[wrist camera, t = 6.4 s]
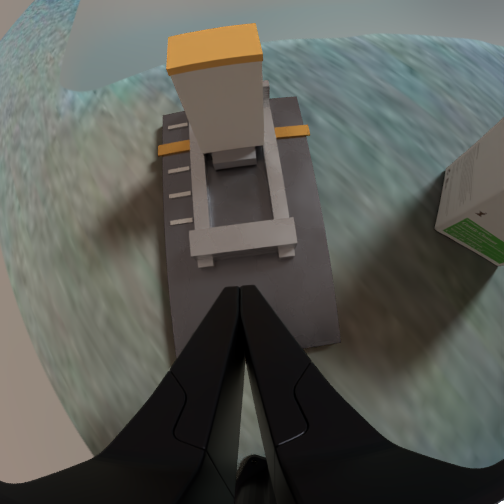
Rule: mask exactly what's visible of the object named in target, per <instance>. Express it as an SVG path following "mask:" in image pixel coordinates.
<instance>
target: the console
mask: <svg viewBox="0 0 504 504" xmlns="http://www.w3.org/2000/svg"><path fill="white" fill-rule="evenodd" d="M262 82H263V112H264V145H260V146H255V153H256V162H257V164H255V165H247V166H239V167H232V168H225V169H218V170H215V168H214V166H213V159H212V152H210V153H203V154H202V152H201V150H200V147H199V145H198V142H197V140H196V137H195V135H194V133H193V130H192V128H191V125H190V123H189V120H188V118H187V115H186V113H185V111H182V112H177V113H172V114H168V115H163V145H159V146H158V156H159V157H160V156H163V204H164V227H165V245H166V260H167V274H168V286H169V297H170V307H171V317H172V326H173V335H174V343H175V351H176V358H177V357H178V356H179V354H180V353H181V351H182V350H183V348H184V347H185V345H186V344H187V342H188V341H189V339H190V338H191V336H192V335H193V333H194V332H195V330H196V329H197V327H198V326H199V324H200V323H201V321H202V320H203V318H204V317H205V315H206V314H207V312H208V311H209V309H210V308H211V306H212V305H213V303H214V302H215V300H216V299H217V298H218V296H219V295H220V293H221V292H222V290H223V289H224V287H226V286H239V287H241V286H242V285H255V286H256V287H257V288H258V289H259V291H260V292H261V294H262V295H263V296H264V298H265V299H266V300H267V302H268V303H269V304H270V306H271V307H272V308H273V310H274V311H275V313H276V314H277V315H278V317H279V318H280V319H281V321H282V322H283V323H284V325H285V326H286V327H287V329H288V330H289V331H290V333H291V334H292V335H293V337H294V338H295V339H296V341H297V342H298V343H299V345H300V346H301V347H302V348H309V347H315V346H322V345H328V344H334V343H339V342H341V339H340V330H339V322H338V314H337V306H336V299H335V291H334V284H333V277H332V270H331V264H330V258H329V251H328V245H327V239H326V233H325V227H324V222H323V216H322V211H321V205H320V200H319V195H318V190H317V185H316V180H315V175H314V170H313V165H312V161H311V156H310V152H309V147H308V143H307V138H306V136H310V132H309V127H308V125H303V121H302V117H301V113H300V109H299V105H298V101H297V97H284V98H273V99H269V82H268V80H266V81H262Z"/></svg>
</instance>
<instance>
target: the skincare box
mask: <svg viewBox="0 0 504 504" xmlns="http://www.w3.org/2000/svg"><path fill="white" fill-rule="evenodd" d="M435 230H436V231H438V232H440V233H442V234H443V235H446V236H448V237H449V238H451V239H453V240H454V241H456V242H457V243H459V244H461V245H463V246H465V247H466V248H468V249H470V250H472V251H474V252H475V253H477V254H479V255H480V256H482V257H484V258H485V259H487V260H489V261H490V262H492V263H493V264H495V265H496V266H503V265H504V117H503V118H502V119H501V120H500V121H499V122H498V123H497V124H496V125H495V126H494V127H493V128H492V129H490V130H489V131H488V132H487V133H486V134H485V135H484V136H483V137H482V138H481V139H479V140H478V141H477V142H476V143H475V144H474V145H473V146H472V147H470V148H469V149H468V150H467V151H466V152H465V153H464V154H462V155H461V156H460V157H459V158H458V159H456V160H455V161H454V162H453V163H452V164H451V165H450V166H448V167H447V168H446V172H445V178H444V184H443V189H442V194H441V200H440V205H439V210H438V215H437V219H436V224H435Z"/></svg>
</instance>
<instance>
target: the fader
mask: <svg viewBox="0 0 504 504" xmlns="http://www.w3.org/2000/svg"><path fill="white" fill-rule="evenodd" d="M262 61H263V53H262V49H261V44H260V40H259V36H258V31H257V27H256V24H255V23H252V24H242V25H235V26H227V27H219V28H213V29H207V30H201V31H196V32H190V33H185V34H180V35H176V36H171V37H168V50H167V66H166V70H167V72H168V75H169V76H171V79H172V81H173V83H174V86H175V88H176V91H177V93H178V96H179V98H180V101H181V103H182V106H183V108H184V111H185V113H186V115H187V118H188V120H189V123H190V125H191V128H192V130H193V133H194V135H195V137H196V140H197V142H198V145H199V147H200V150H201V152H202V154H203V153H210V152H212V159H213V166H214V168H215V170H218V169H225V168H232V167H239V166H247V165H255V164H257V162H256V153H255V146H260V145H264V112H263V82H262Z"/></svg>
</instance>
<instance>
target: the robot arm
mask: <svg viewBox="0 0 504 504" xmlns="http://www.w3.org/2000/svg"><path fill="white" fill-rule="evenodd" d="M245 358H246V365H247V370H248V375H249V380H250V385H251V390H252V395H253V400H254V404H255V409H256V414H257V419H258V423H259V428H260V433H261V437H262V442H263V446H264V451H265V455H266V458H265V457H262V456H259V455H251V456H249V457H248V459H247V461H246V463H245V465H244V467H243V469H242V471H241V472H240V474H239V476H238V478H237V480H236V472H237V459H238V447H239V435H240V422H241V410H242V397H243V385H244V372H245ZM252 460H257V462H256V463H253V462H252ZM0 504H504V459H503V460H501V461H500V462H498V463H496V464H494V465H492V466H489V467H486V468H466V467H461V466H458V465H454V464H451V463H447V462H444V461H441V460H438V459H434V458H431V457H428V456H425V455H422V454H419V453H416V452H413V451H410V450H408V449H405V448H402V447H400V446H398V445H396V444H394V443H392V442H390V441H389V440H387V439H386V438H385V437H383V436H382V435H381V434H380V433H379V432H378V431H377V430H376V429H375V428H373V427H372V426H371V425H370V424H369V423H368V422H367V421H366V420H365V419H364V418H363V417H362V416H361V415H360V414H359V413H358V412H357V411H356V410H355V409H354V408H353V407H352V406H351V405H350V404H349V403H347V402H346V401H345V400H344V398H343V397H342V396H341V395H340V394H339V393H338V392H337V391H336V390H335V389H334V388H333V387H332V386H331V385H330V383H329V382H328V381H327V380H326V379H325V377H324V376H323V375H322V374H321V372H320V371H319V370H318V368H317V367H316V366H315V364H314V363H311V359H310V358H309V357H308V355H307V354H306V353H305V351H304V350H303V349H302V347H301V346H300V345H299V343H298V342H297V341H296V339H295V338H294V337H293V335H292V334H291V333H290V331H289V330H288V329H287V327H286V326H285V325H284V323H283V322H282V321H281V319H280V318H279V317H278V315H277V314H276V313H275V311H274V310H273V308H272V307H271V306H270V304H269V303H268V302H267V300H266V299H265V298H264V296H263V295H262V294H261V292H260V291H259V289H258V288H257V287H256V286H255V285H242V286H241V287H239V286H226V287H224V289H223V290H222V292H221V293H220V295H219V296H218V298H217V299H216V300H215V302H214V303H213V305H212V306H211V308H210V309H209V311H208V312H207V314H206V315H205V317H204V318H203V320H202V321H201V323H200V324H199V326H198V327H197V329H196V330H195V332H194V333H193V335H192V336H191V338H190V339H189V341H188V342H187V344H186V345H185V347H184V348H183V350H182V351H181V353H180V354H179V356H178V357H177V359H176V360H175V362H174V363H173V365H172V366H171V368H170V371H168V372H167V374H166V375H165V377H164V378H163V380H162V381H161V383H160V384H159V386H158V387H157V388H156V390H155V391H154V393H153V394H152V395H151V397H150V398H149V399H148V400H147V401H146V403H145V404H144V405H143V406H142V408H141V409H140V410H139V411H138V412H137V414H136V415H135V416H134V417H133V418H132V419H131V420H130V422H129V423H128V424H127V425H126V426H125V427H124V428H123V430H122V431H121V432H120V433H119V434H118V435H117V436H116V437H115V439H114V440H113V441H112V442H111V443H110V444H109V445H108V446H107V447H106V448H105V449H104V450H103V451H102V452H101V453H99V454H98V455H96V456H95V457H93V458H92V459H90V460H88V461H85V462H83V463H80V464H77V465H75V466H72V467H70V468H67V469H64V470H62V471H59V472H56V473H53V474H50V475H48V476H44V477H41V478H38V479H36V480H32V481H29V482H25V483H17V484H11V483H5V482H2V481H0Z"/></svg>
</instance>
